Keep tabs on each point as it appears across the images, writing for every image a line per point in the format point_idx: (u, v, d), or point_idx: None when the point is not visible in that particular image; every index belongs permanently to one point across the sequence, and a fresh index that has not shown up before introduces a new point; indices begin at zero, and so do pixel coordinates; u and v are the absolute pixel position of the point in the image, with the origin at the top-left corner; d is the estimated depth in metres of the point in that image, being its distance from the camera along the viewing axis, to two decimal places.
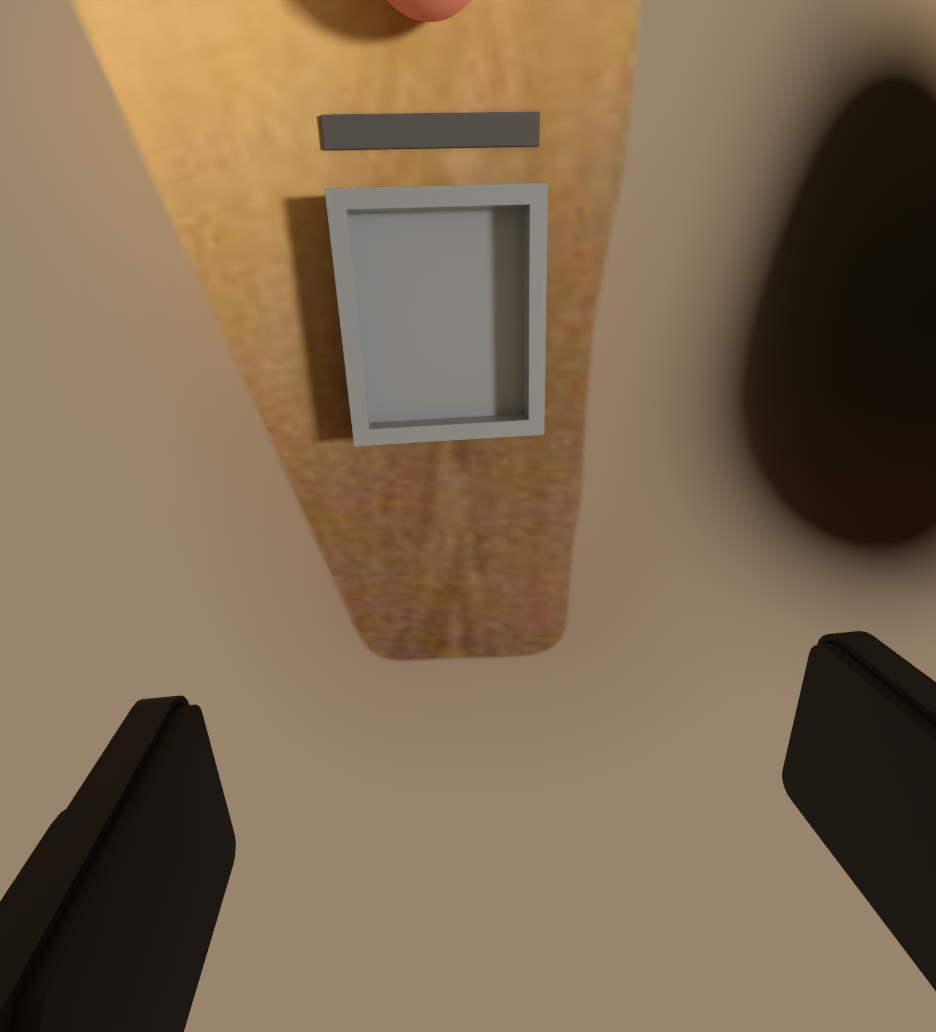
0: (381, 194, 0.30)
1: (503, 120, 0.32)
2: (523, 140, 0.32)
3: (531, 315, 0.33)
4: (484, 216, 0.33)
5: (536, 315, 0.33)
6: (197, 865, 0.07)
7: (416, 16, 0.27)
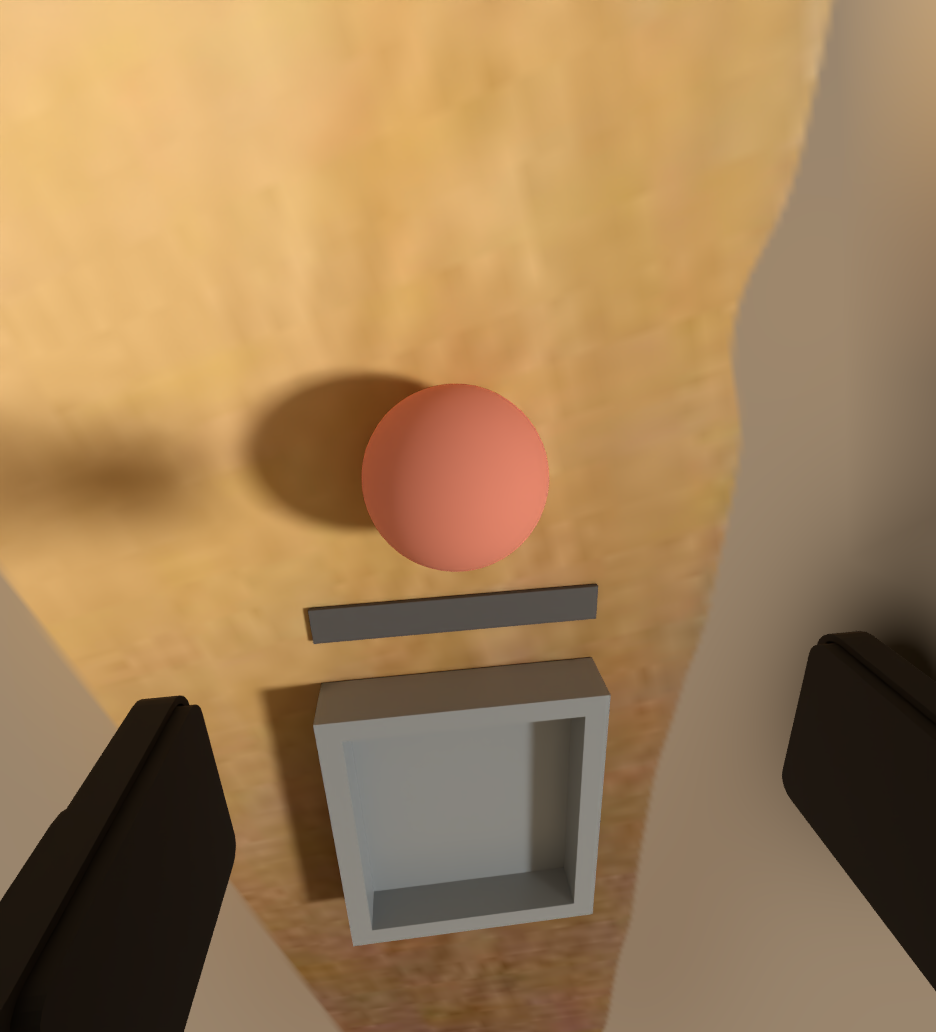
0: (389, 724, 0.23)
1: (550, 598, 0.24)
2: (575, 614, 0.24)
3: (581, 814, 0.26)
4: None
5: (588, 814, 0.26)
6: (197, 865, 0.07)
7: None
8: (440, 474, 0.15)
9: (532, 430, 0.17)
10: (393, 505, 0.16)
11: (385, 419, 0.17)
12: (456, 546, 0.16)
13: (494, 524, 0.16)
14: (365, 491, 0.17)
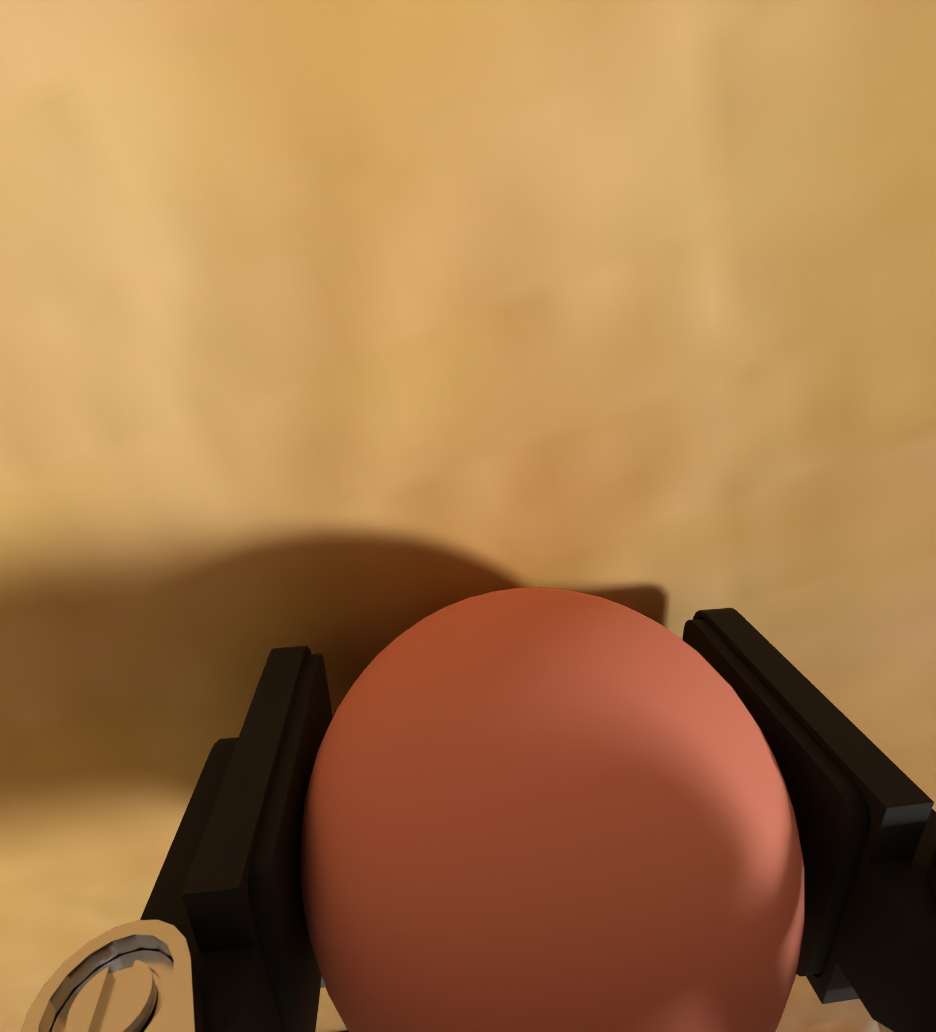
0: None
1: None
2: None
3: None
4: None
5: None
6: None
7: None
8: (540, 1021, 0.04)
9: (766, 749, 0.06)
10: None
11: (360, 724, 0.06)
12: None
13: None
14: (305, 916, 0.06)
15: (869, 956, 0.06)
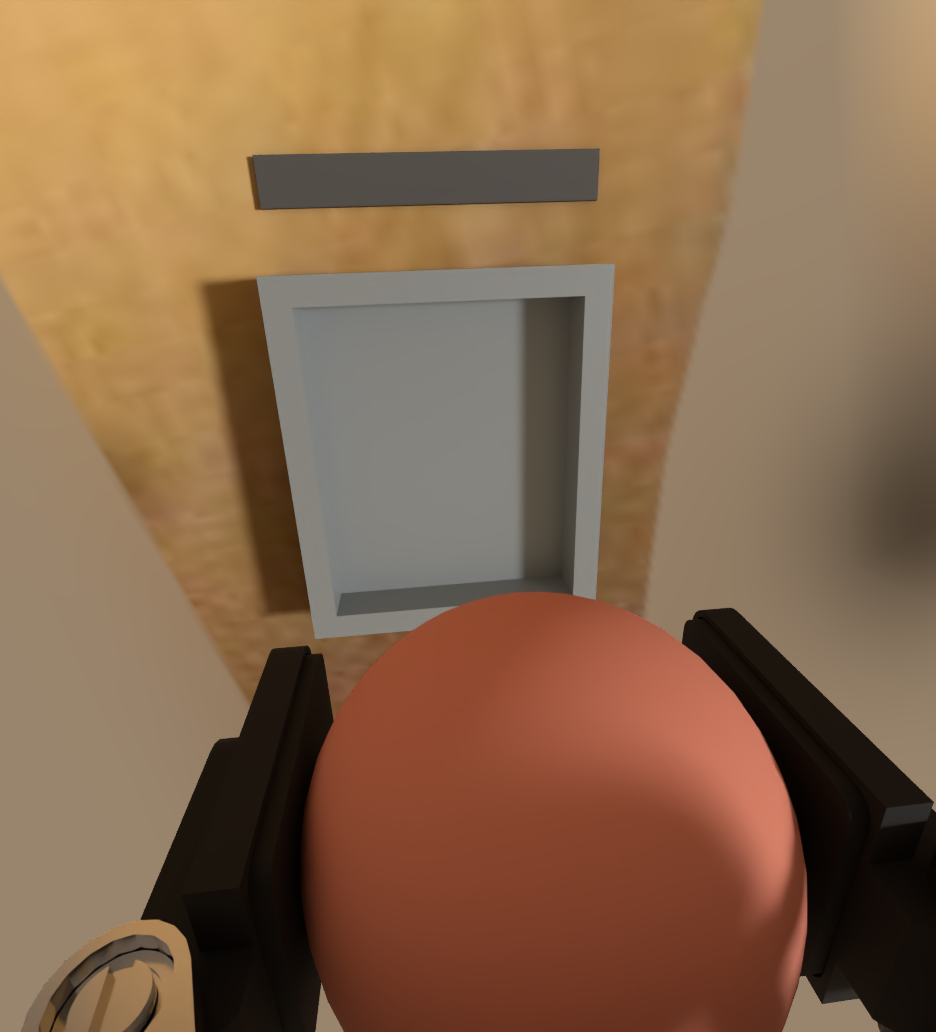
0: (349, 284, 0.19)
1: (543, 162, 0.20)
2: (572, 191, 0.21)
3: (581, 455, 0.22)
4: (511, 307, 0.21)
5: (589, 455, 0.22)
6: None
7: None
8: (541, 1030, 0.04)
9: (769, 756, 0.06)
10: None
11: (360, 730, 0.06)
12: None
13: None
14: (305, 923, 0.06)
15: (869, 956, 0.06)
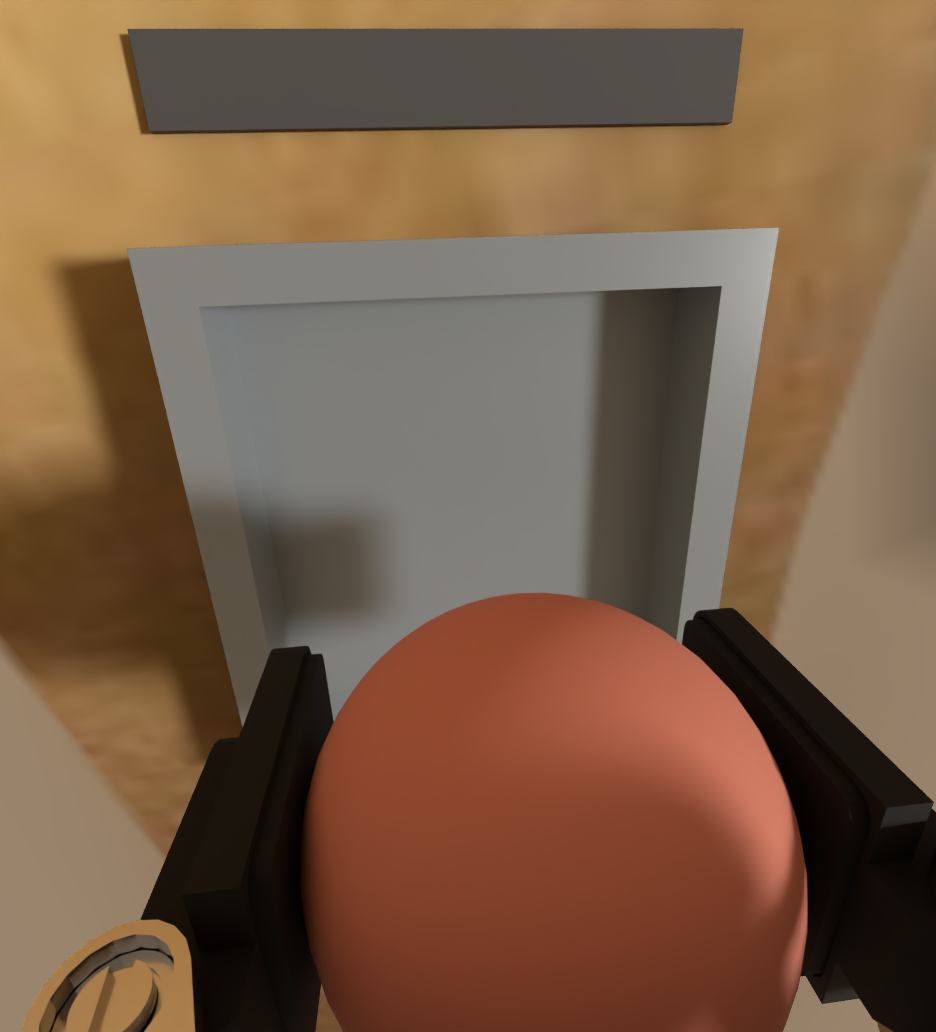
0: (301, 263, 0.10)
1: (646, 53, 0.12)
2: (692, 107, 0.12)
3: (692, 548, 0.13)
4: (580, 305, 0.13)
5: (705, 548, 0.13)
6: None
7: None
8: None
9: (769, 757, 0.06)
10: None
11: (360, 731, 0.06)
12: None
13: None
14: (305, 924, 0.06)
15: (869, 956, 0.06)
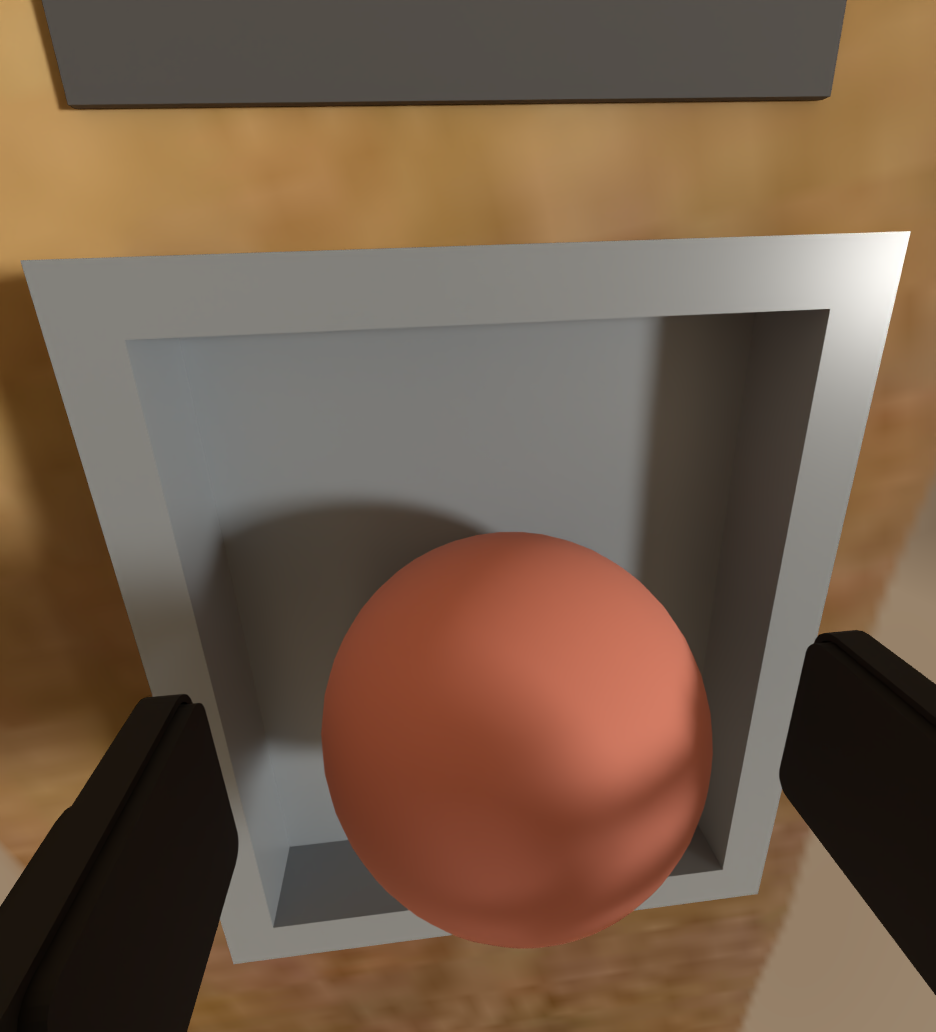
0: (265, 281, 0.07)
1: (724, 3, 0.09)
2: (780, 75, 0.09)
3: (772, 637, 0.11)
4: (632, 331, 0.10)
5: (788, 637, 0.11)
6: (200, 862, 0.07)
7: None
8: (500, 812, 0.06)
9: (684, 647, 0.08)
10: (385, 853, 0.07)
11: (369, 626, 0.08)
12: (530, 942, 0.07)
13: (621, 904, 0.07)
14: (326, 777, 0.08)
15: None
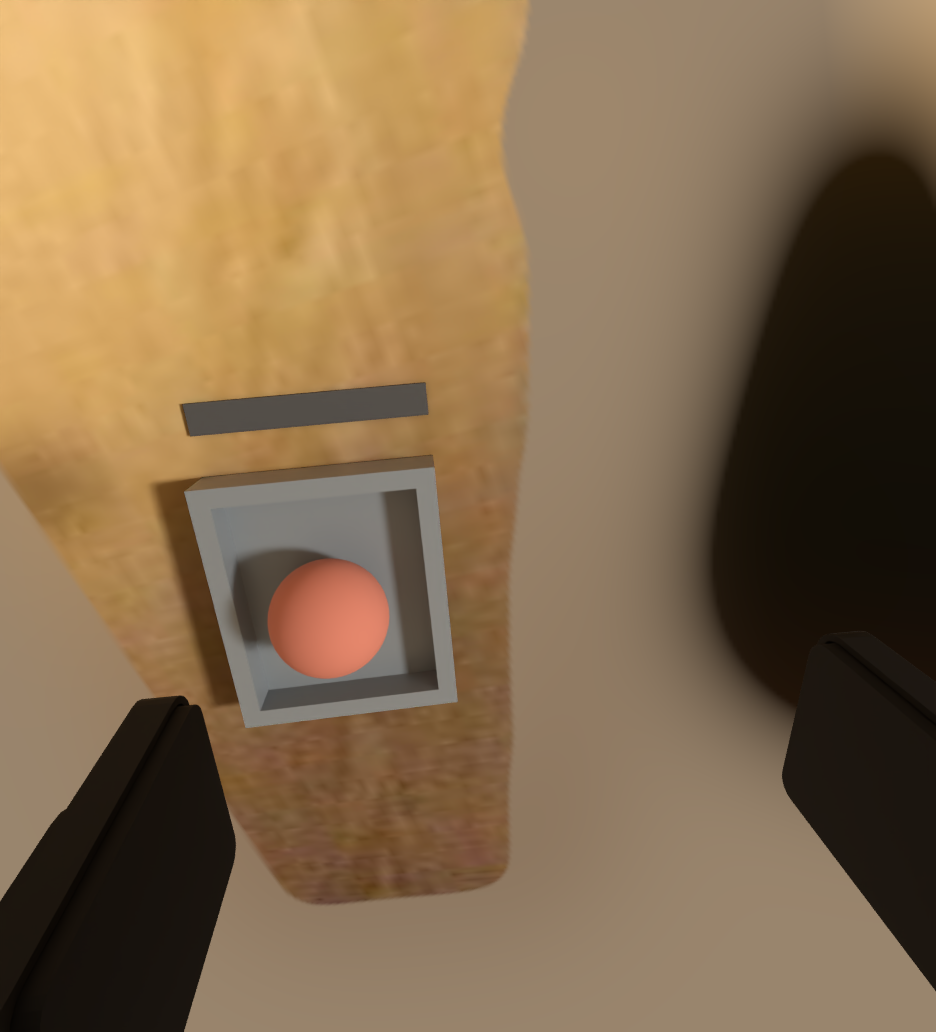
0: (248, 492, 0.27)
1: (386, 394, 0.29)
2: (409, 410, 0.29)
3: (429, 591, 0.30)
4: None
5: (435, 591, 0.30)
6: (197, 865, 0.07)
7: None
8: (304, 627, 0.26)
9: (370, 591, 0.28)
10: (280, 644, 0.27)
11: (279, 587, 0.28)
12: (319, 668, 0.27)
13: (340, 655, 0.26)
14: None
15: None
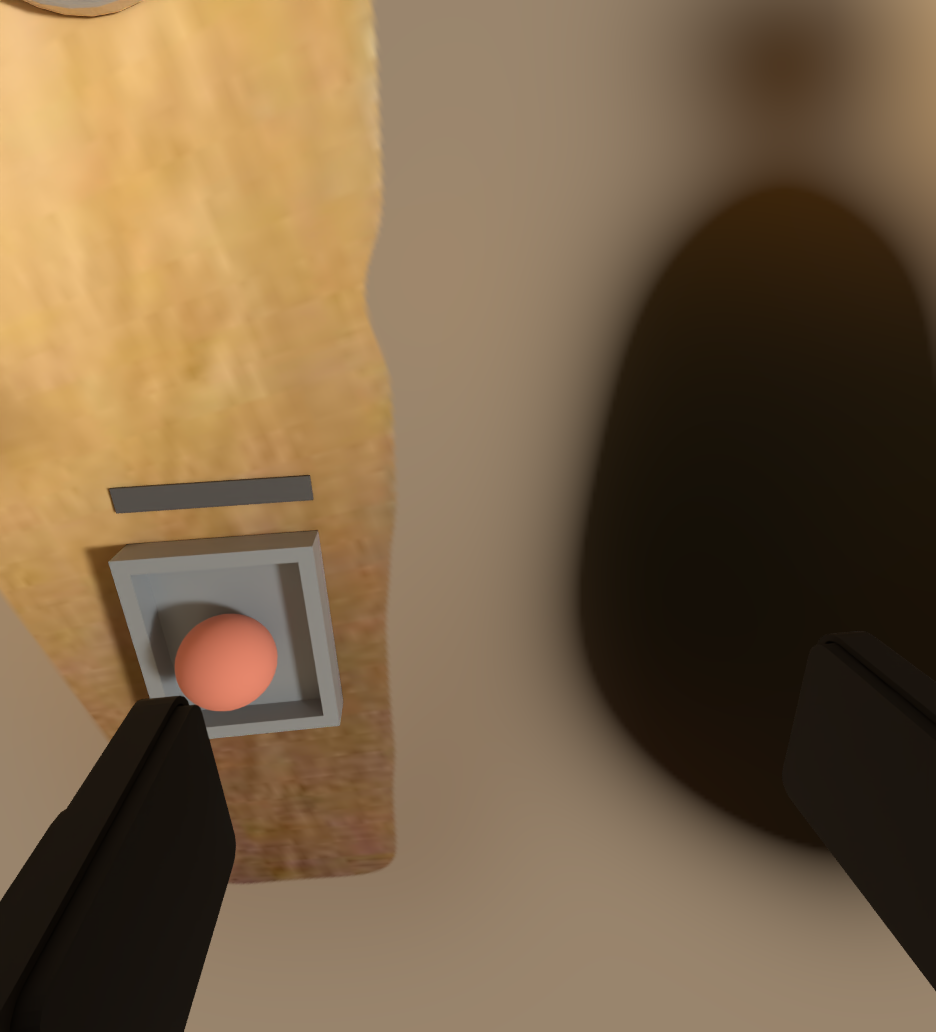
0: (160, 563, 0.34)
1: (277, 484, 0.36)
2: (297, 496, 0.36)
3: (312, 640, 0.37)
4: None
5: (317, 640, 0.37)
6: (197, 865, 0.07)
7: None
8: (199, 675, 0.33)
9: (256, 644, 0.35)
10: (182, 685, 0.34)
11: (184, 638, 0.35)
12: (212, 705, 0.34)
13: (229, 696, 0.34)
14: None
15: None
